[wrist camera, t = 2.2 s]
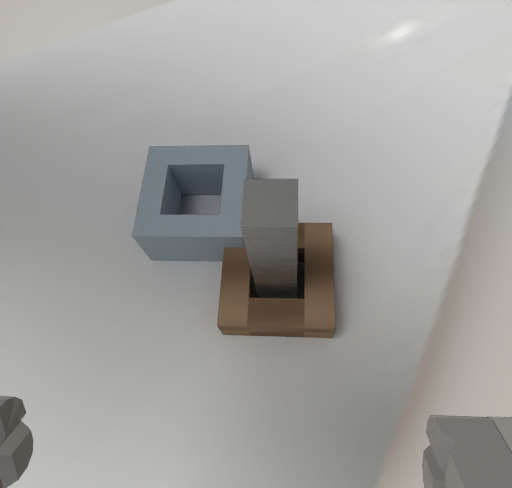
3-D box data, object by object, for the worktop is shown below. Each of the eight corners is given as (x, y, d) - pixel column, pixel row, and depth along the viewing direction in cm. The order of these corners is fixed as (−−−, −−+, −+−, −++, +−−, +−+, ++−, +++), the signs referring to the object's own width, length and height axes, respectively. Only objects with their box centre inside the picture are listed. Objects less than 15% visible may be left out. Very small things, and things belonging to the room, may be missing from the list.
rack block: (248, 261, 38) (242, 236, 34) (151, 260, 39) (132, 235, 35) (253, 177, 42) (248, 145, 38) (164, 177, 43) (149, 146, 38)
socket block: (332, 337, 35) (335, 328, 32) (223, 334, 36) (217, 325, 33) (329, 238, 39) (332, 223, 36) (231, 237, 39) (226, 222, 37)
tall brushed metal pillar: (296, 302, 36) (297, 227, 24) (259, 302, 37) (240, 226, 24) (297, 268, 38) (298, 178, 25) (261, 267, 38) (243, 178, 25)
